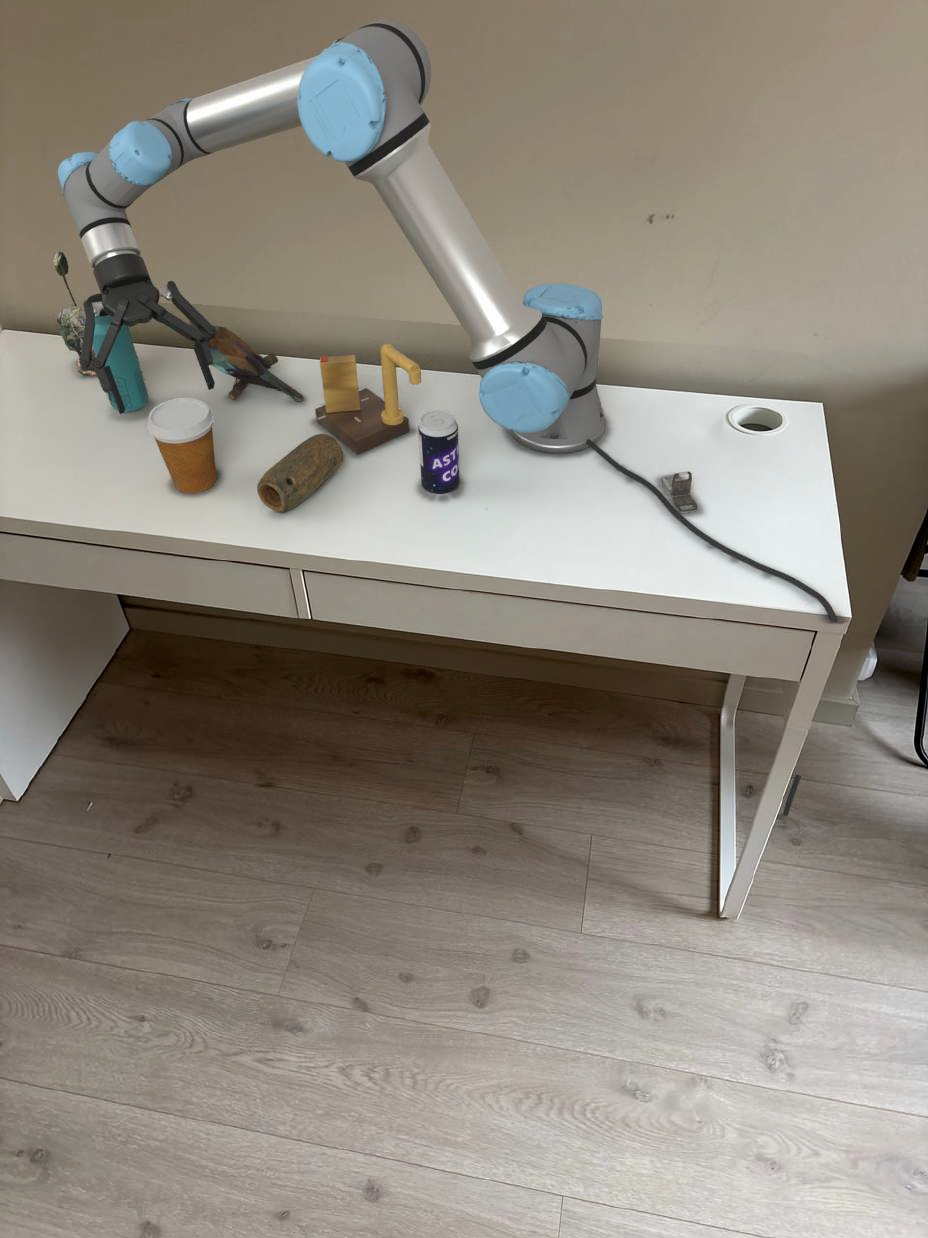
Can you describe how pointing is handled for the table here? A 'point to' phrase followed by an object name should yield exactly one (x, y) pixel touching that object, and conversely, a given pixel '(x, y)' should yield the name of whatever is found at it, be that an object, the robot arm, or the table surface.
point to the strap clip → (680, 491)
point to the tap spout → (395, 382)
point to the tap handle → (340, 383)
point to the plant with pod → (71, 317)
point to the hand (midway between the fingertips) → (167, 398)
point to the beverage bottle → (121, 362)
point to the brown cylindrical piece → (300, 472)
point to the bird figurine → (244, 363)
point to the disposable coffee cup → (185, 442)
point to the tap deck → (361, 424)
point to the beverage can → (439, 452)
